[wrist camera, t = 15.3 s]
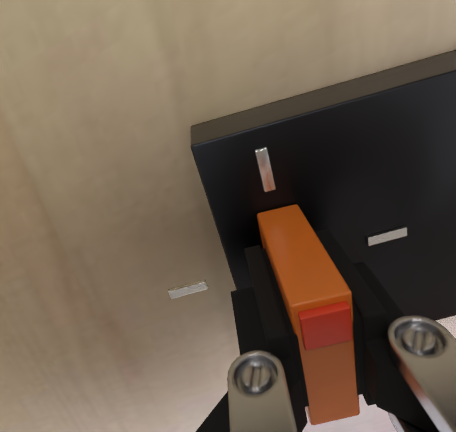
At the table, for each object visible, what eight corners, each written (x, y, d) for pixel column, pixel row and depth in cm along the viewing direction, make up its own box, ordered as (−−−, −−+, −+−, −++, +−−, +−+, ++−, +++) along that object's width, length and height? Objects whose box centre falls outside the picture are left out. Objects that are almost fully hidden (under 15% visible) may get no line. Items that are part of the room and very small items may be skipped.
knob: (311, 304, 14) (364, 424, 10) (276, 312, 14) (313, 435, 10) (297, 202, 12) (357, 299, 7) (255, 212, 12) (292, 314, 7)
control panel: (206, 335, 17) (208, 383, 15) (127, 144, 13) (113, 169, 10) (495, 259, 17) (544, 296, 15) (524, 29, 12) (603, 29, 10)
